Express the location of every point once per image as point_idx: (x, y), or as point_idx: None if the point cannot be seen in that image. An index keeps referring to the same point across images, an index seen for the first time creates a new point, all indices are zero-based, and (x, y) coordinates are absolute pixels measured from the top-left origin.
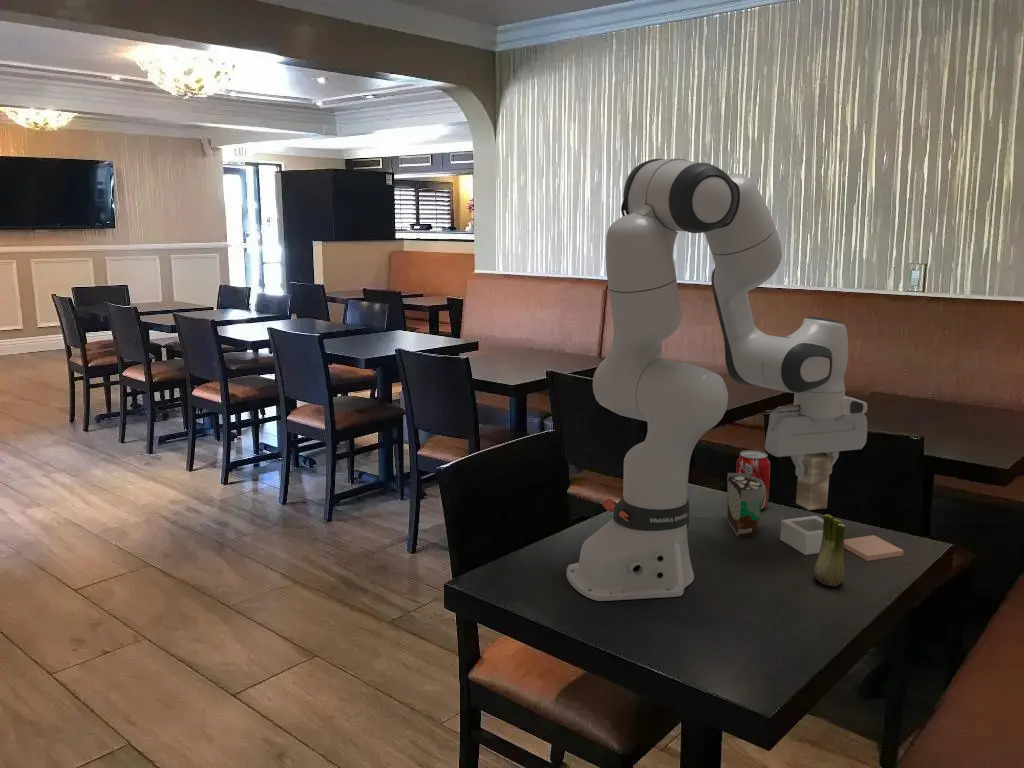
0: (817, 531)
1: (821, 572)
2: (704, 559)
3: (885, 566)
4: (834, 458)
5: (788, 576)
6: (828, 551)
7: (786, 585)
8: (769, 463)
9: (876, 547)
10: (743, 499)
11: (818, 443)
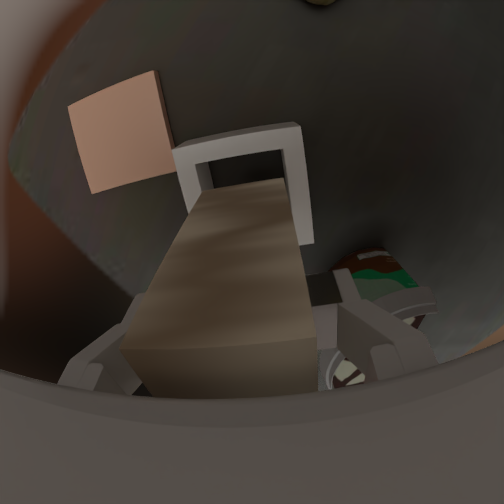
0: (254, 144)
1: None
2: (486, 162)
3: (133, 44)
4: (95, 353)
5: (386, 31)
6: None
7: (405, 2)
8: None
9: (111, 120)
10: (428, 290)
11: (243, 500)
